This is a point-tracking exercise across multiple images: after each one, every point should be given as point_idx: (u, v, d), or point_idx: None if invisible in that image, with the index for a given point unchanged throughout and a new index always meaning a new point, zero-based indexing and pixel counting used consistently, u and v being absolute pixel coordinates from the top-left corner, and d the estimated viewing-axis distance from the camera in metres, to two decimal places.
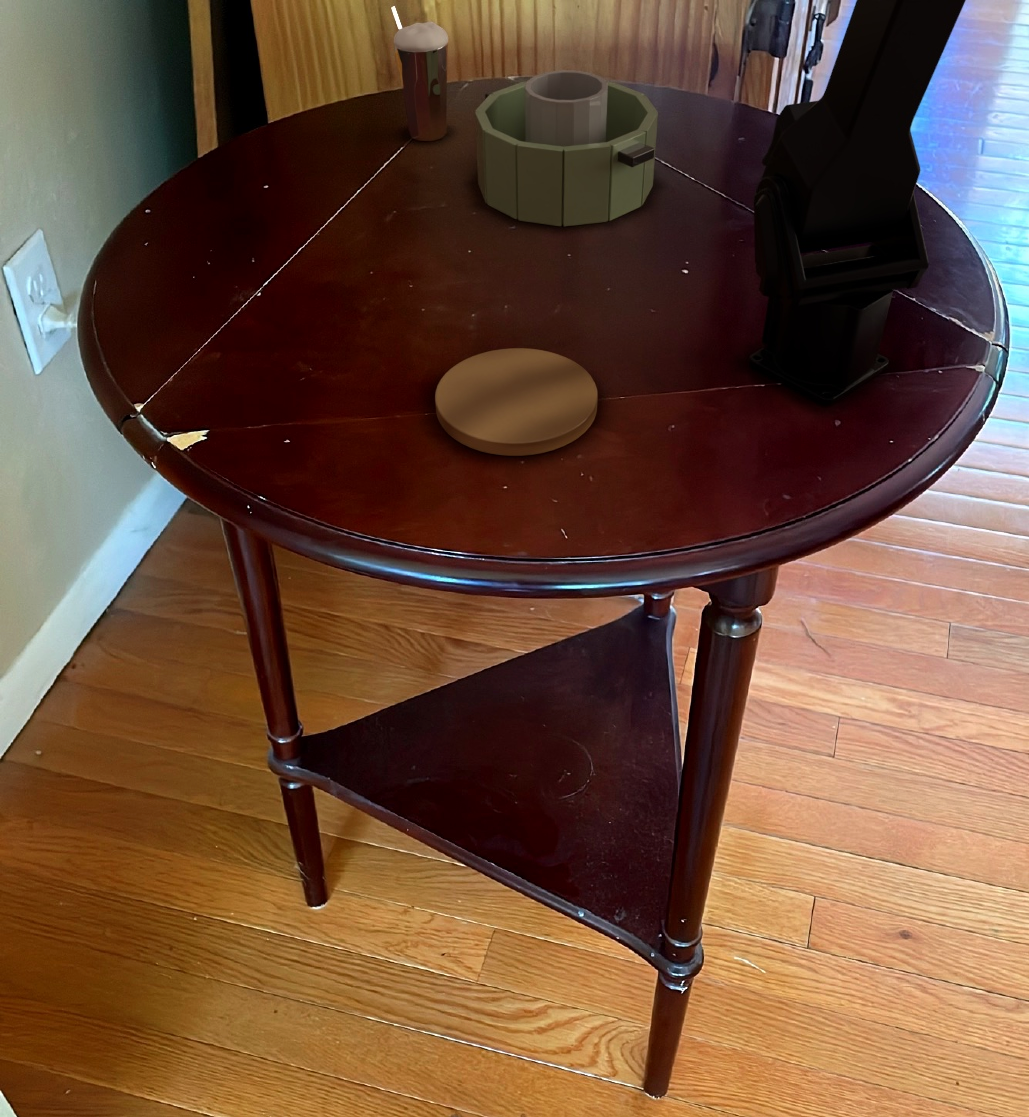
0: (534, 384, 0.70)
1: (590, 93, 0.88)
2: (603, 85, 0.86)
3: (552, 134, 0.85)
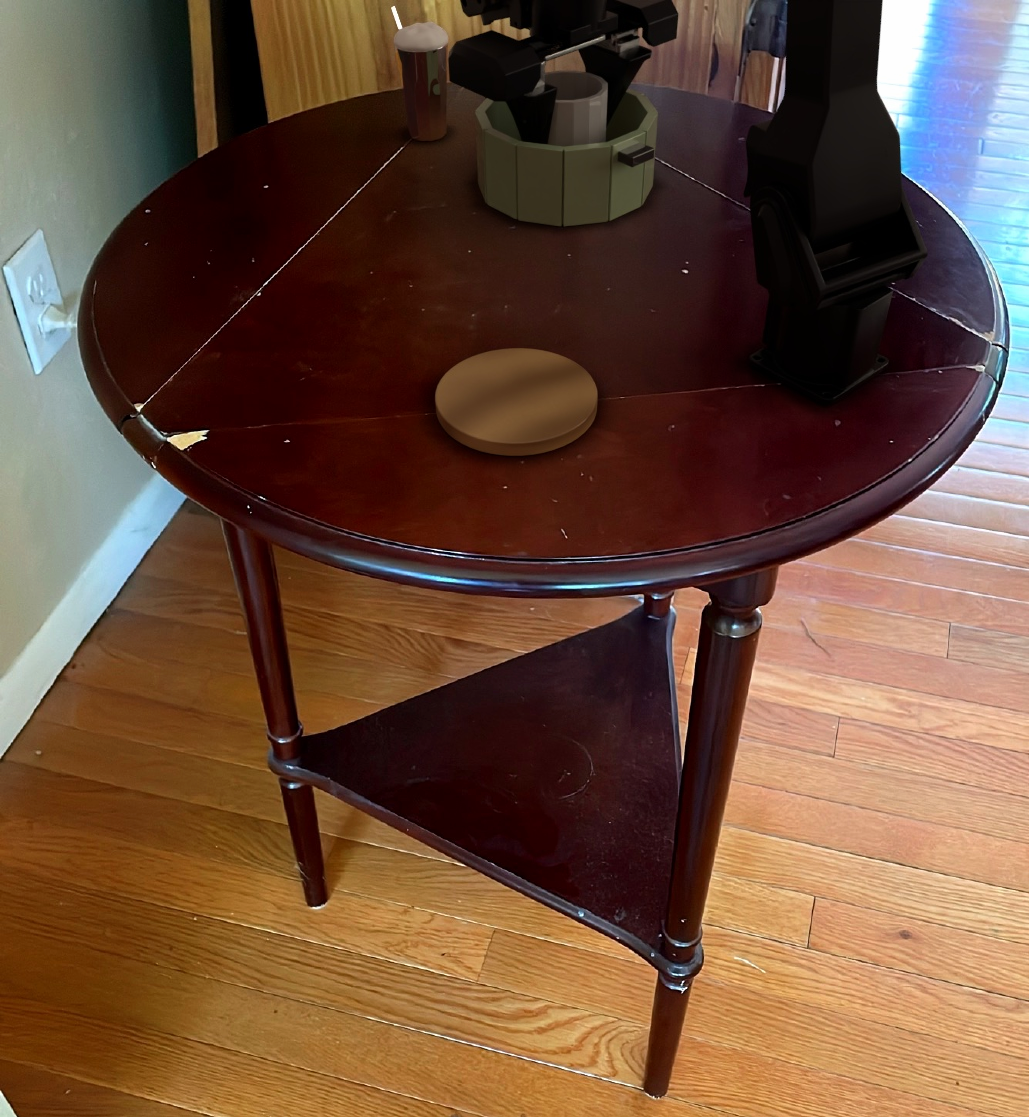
0: (534, 384, 0.70)
1: (590, 93, 0.88)
2: (603, 85, 0.86)
3: (552, 134, 0.85)
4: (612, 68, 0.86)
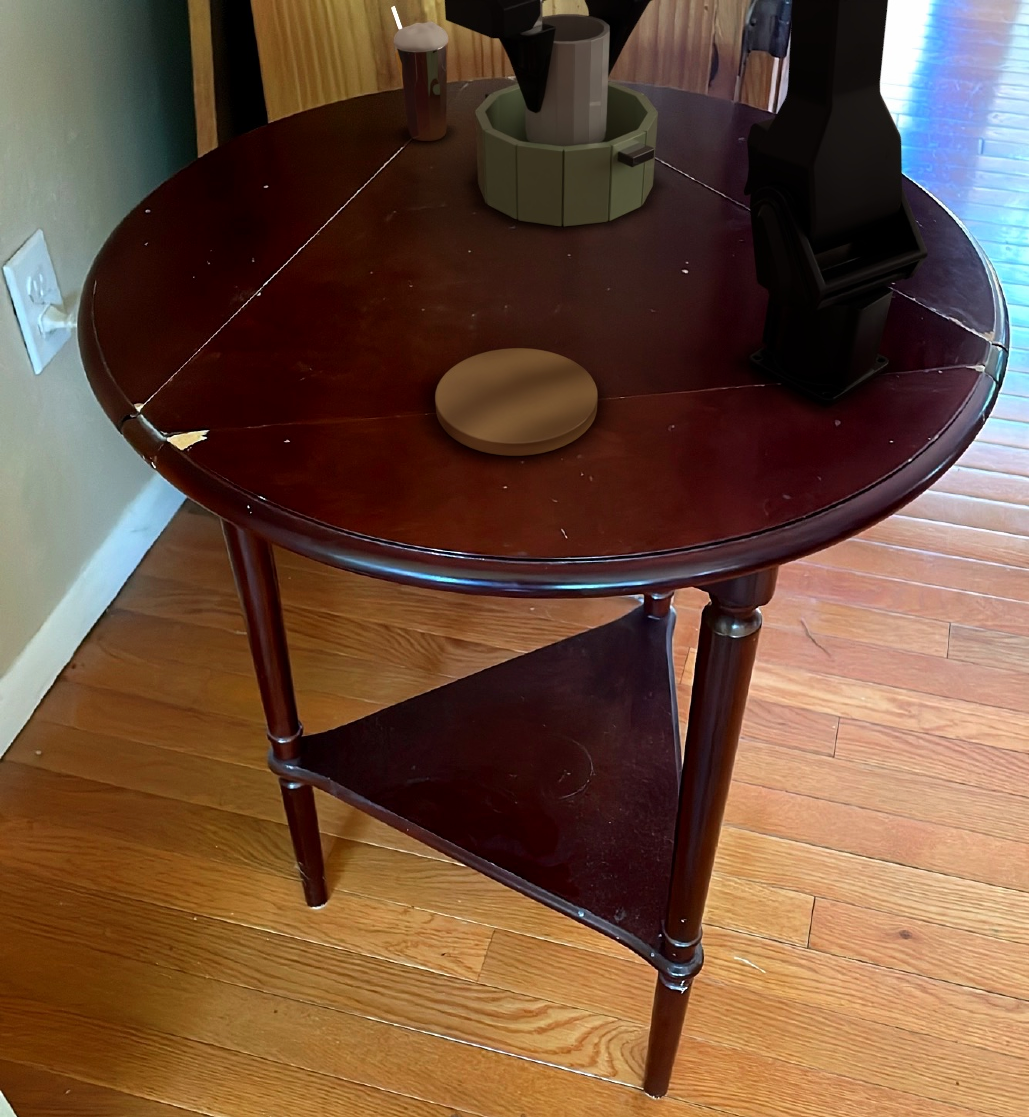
0: (534, 384, 0.70)
1: (592, 37, 0.85)
2: (605, 27, 0.83)
3: (552, 78, 0.83)
4: (616, 9, 0.83)
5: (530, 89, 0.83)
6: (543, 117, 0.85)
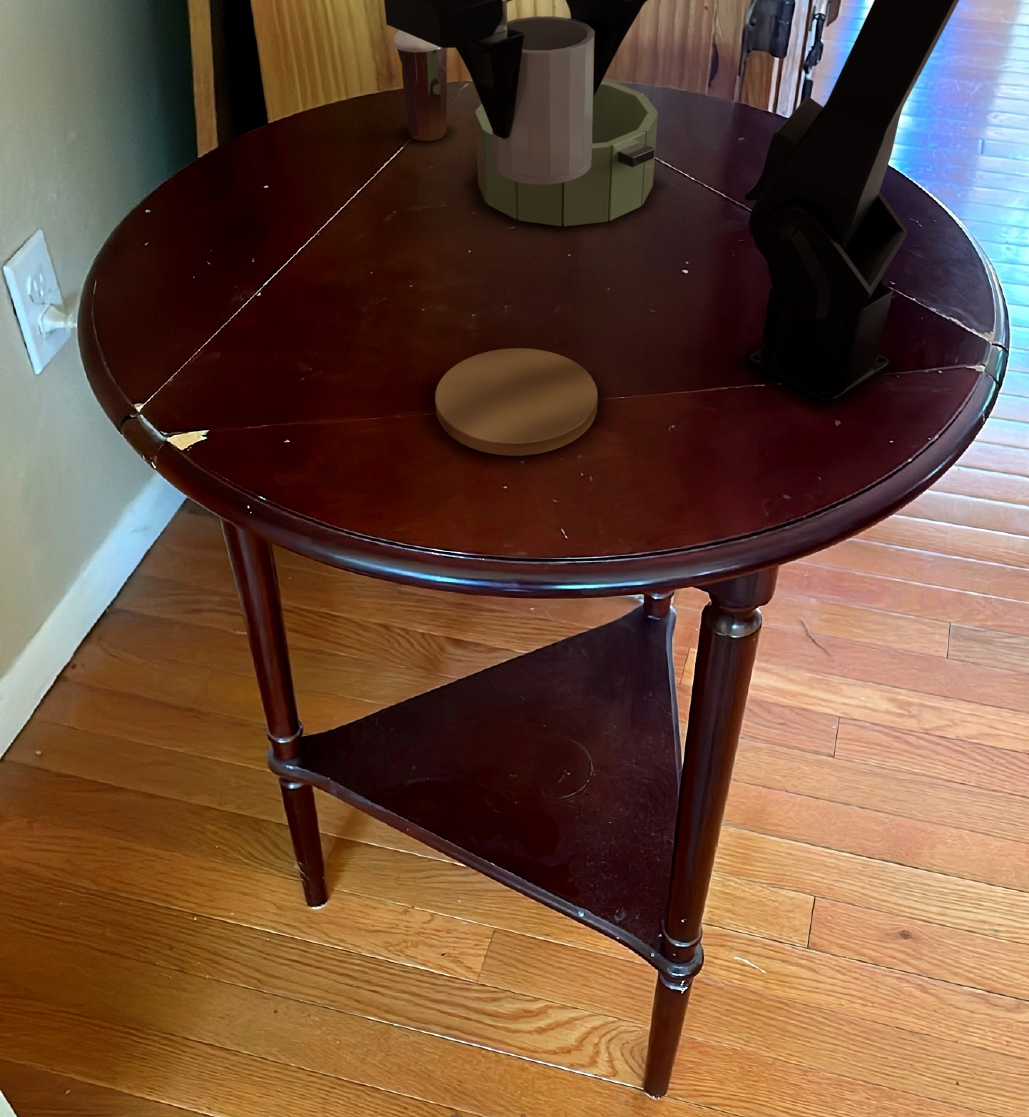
0: (534, 384, 0.70)
1: None
2: (589, 33, 0.67)
3: (522, 96, 0.67)
4: (603, 11, 0.67)
5: (496, 110, 0.67)
6: (513, 144, 0.69)
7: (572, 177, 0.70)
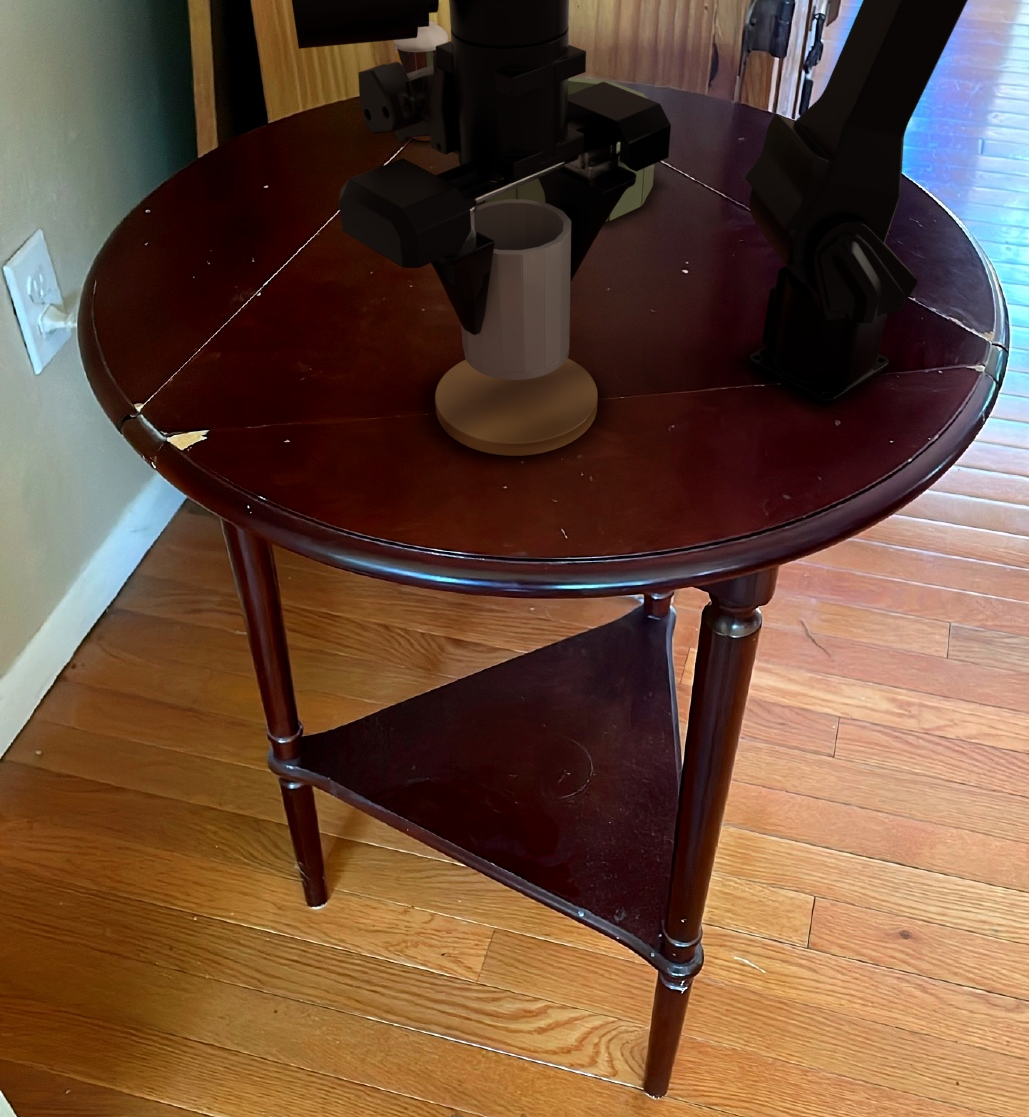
0: (534, 384, 0.70)
1: (549, 231, 0.64)
2: (565, 225, 0.61)
3: (493, 294, 0.61)
4: (581, 199, 0.62)
5: (465, 309, 0.61)
6: (484, 340, 0.63)
7: (549, 371, 0.65)
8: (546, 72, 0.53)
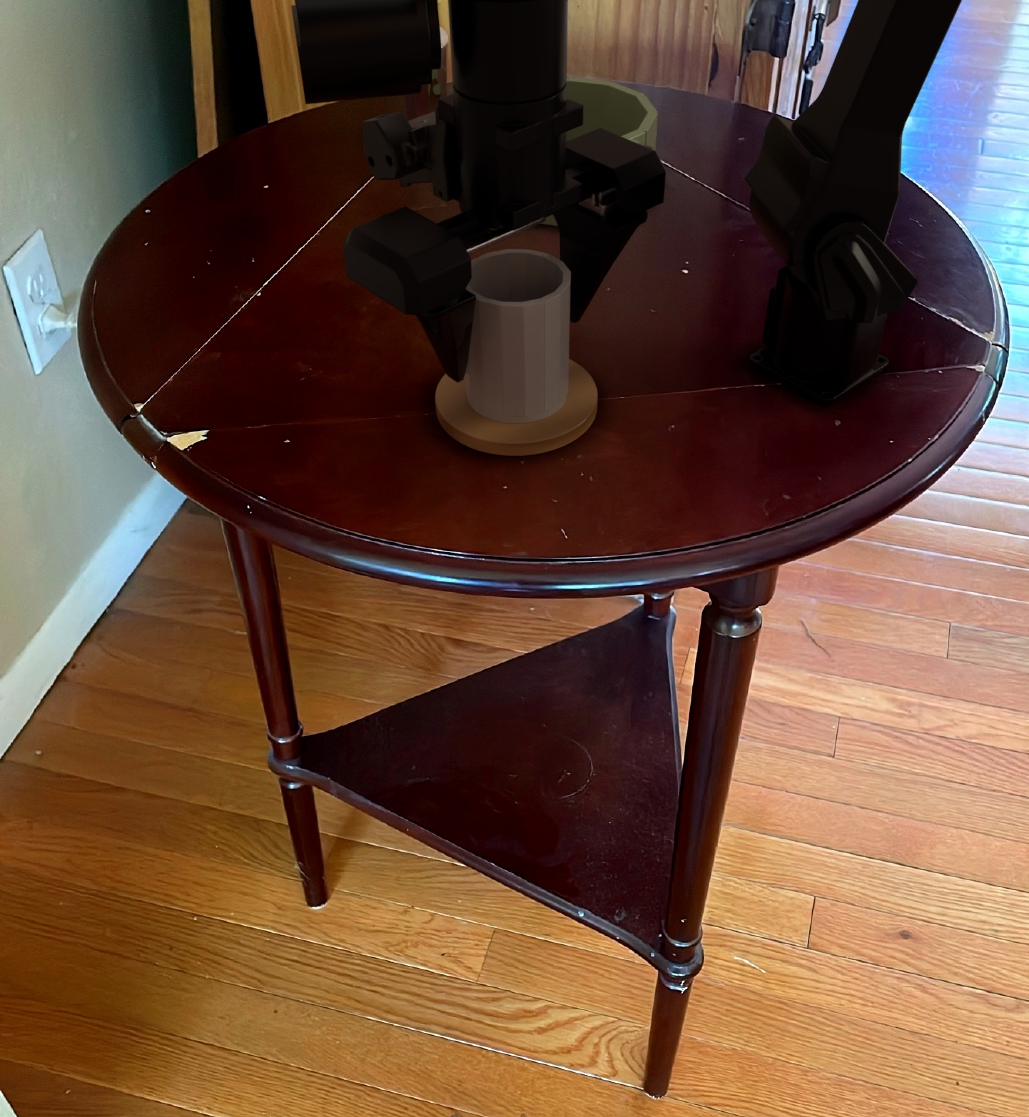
0: None
1: (549, 280, 0.66)
2: (565, 276, 0.63)
3: (495, 343, 0.63)
4: (595, 235, 0.64)
5: (448, 358, 0.63)
6: (486, 385, 0.65)
7: (548, 414, 0.67)
8: (544, 126, 0.55)
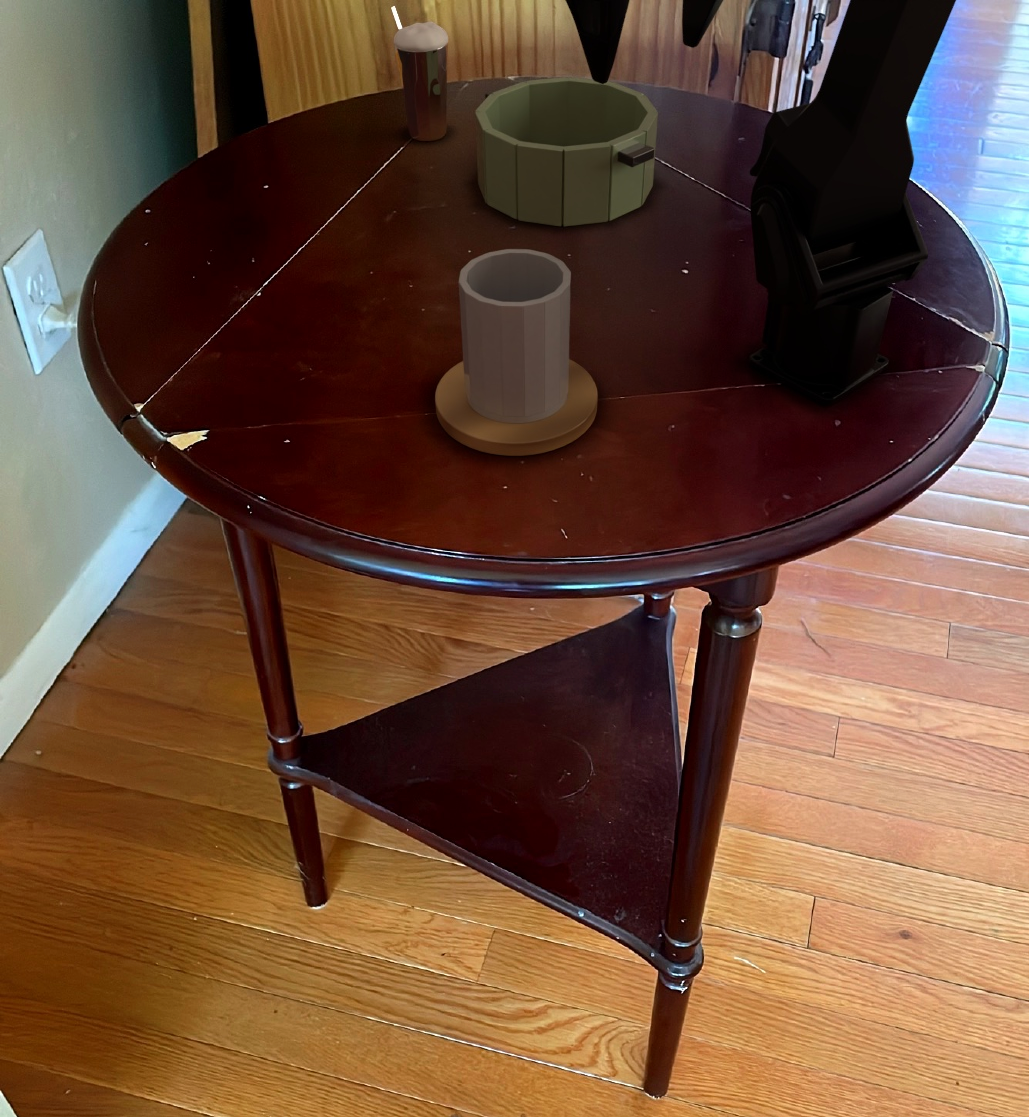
0: None
1: (549, 280, 0.66)
2: (565, 276, 0.63)
3: (495, 343, 0.63)
4: None
5: (598, 56, 0.73)
6: (486, 385, 0.65)
7: (548, 414, 0.67)
8: None
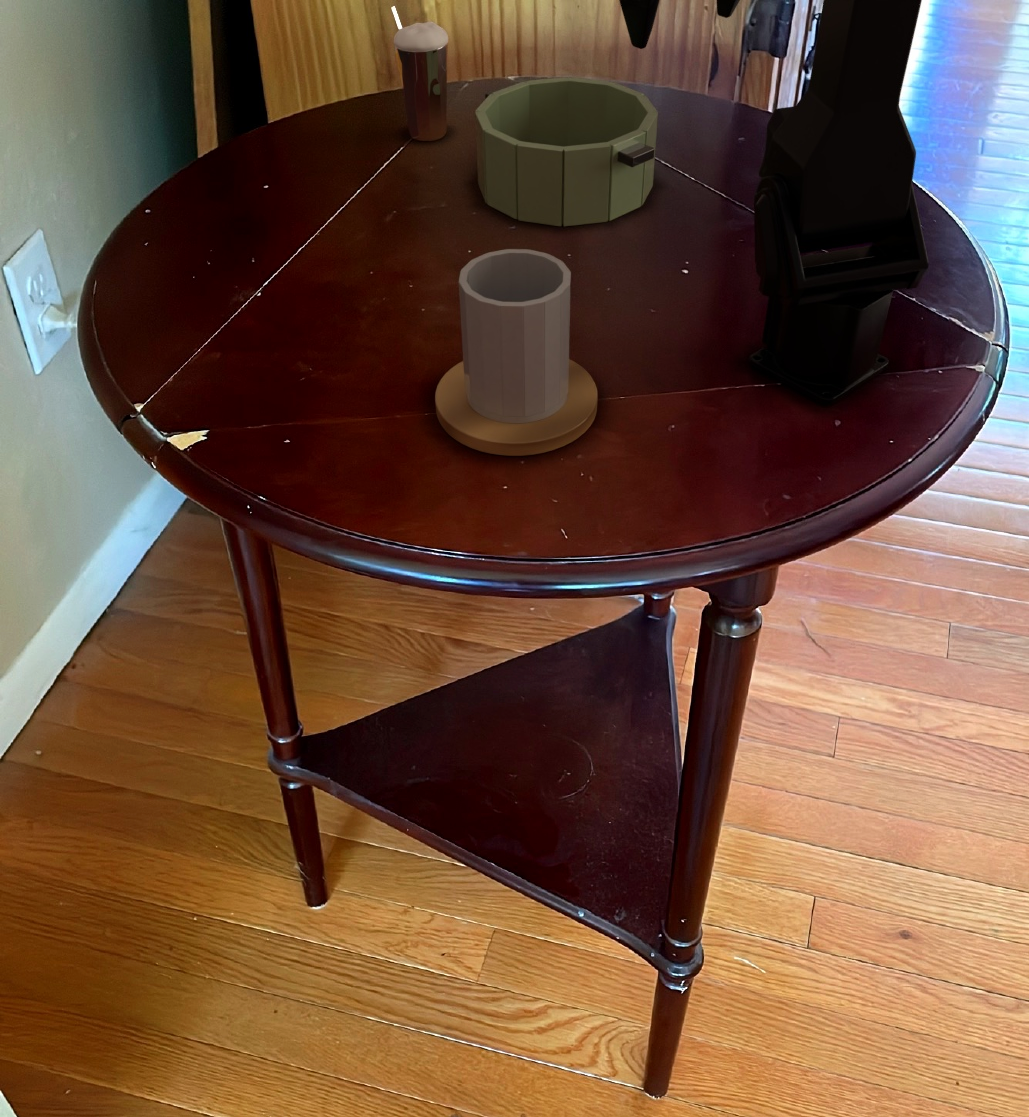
0: None
1: (549, 280, 0.66)
2: (565, 276, 0.63)
3: (495, 343, 0.63)
4: None
5: (637, 22, 0.78)
6: (486, 385, 0.65)
7: (548, 414, 0.67)
8: None
